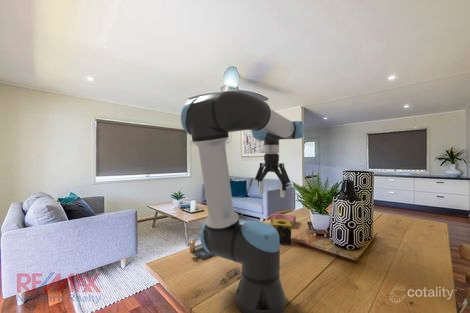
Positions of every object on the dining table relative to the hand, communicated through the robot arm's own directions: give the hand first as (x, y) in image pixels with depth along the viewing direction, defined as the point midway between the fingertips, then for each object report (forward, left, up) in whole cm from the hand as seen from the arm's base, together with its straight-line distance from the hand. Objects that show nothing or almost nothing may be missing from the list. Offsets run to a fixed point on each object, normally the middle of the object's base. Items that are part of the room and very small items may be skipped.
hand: (271, 195), depth 104 cm
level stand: (-22, +17, -26) cm, 38 cm away
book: (+34, +15, -26) cm, 45 cm away
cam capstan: (-29, +17, -23) cm, 41 cm away
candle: (+9, 0, -26) cm, 27 cm away
